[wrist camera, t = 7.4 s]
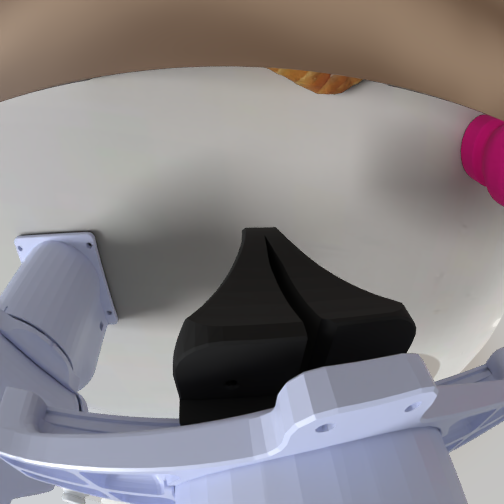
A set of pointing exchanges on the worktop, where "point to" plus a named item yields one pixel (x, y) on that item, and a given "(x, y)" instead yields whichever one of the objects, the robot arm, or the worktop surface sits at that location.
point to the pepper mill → (485, 154)
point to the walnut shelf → (261, 42)
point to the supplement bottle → (73, 496)
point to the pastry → (318, 80)
